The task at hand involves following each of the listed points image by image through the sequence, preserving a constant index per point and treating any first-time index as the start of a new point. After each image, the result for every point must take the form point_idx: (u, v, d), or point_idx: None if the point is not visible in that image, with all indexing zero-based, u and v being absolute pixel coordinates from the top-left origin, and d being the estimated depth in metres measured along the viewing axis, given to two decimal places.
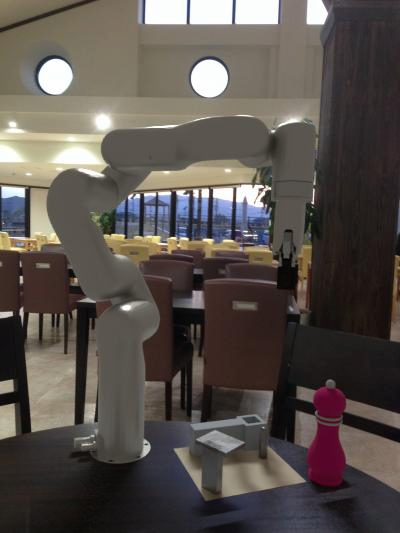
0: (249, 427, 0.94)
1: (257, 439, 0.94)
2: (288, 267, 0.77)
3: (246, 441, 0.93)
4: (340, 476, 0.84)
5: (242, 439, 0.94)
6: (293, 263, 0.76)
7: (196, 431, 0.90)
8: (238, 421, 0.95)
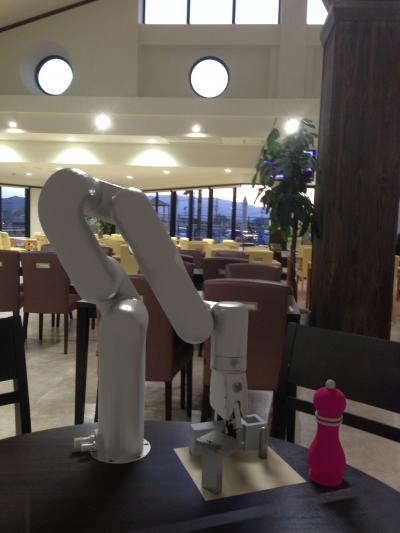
0: (249, 428, 0.94)
1: (257, 439, 0.94)
2: None
3: (246, 441, 0.93)
4: (340, 476, 0.84)
5: (242, 439, 0.94)
6: (215, 420, 0.97)
7: (196, 431, 0.90)
8: None
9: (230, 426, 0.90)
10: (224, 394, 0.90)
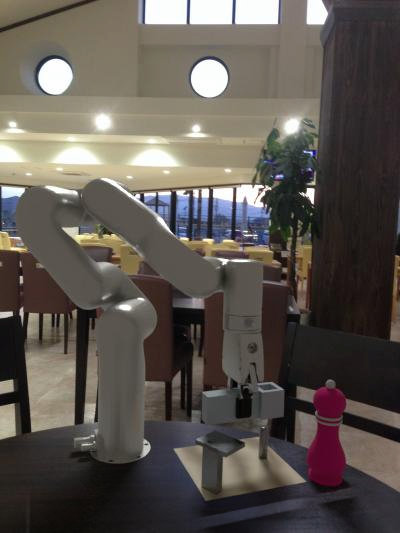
0: (265, 394, 0.88)
1: (274, 407, 0.88)
2: None
3: (262, 409, 0.87)
4: (340, 476, 0.84)
5: (258, 407, 0.88)
6: (228, 387, 0.91)
7: (209, 398, 0.84)
8: None
9: (245, 390, 0.84)
10: (238, 356, 0.83)
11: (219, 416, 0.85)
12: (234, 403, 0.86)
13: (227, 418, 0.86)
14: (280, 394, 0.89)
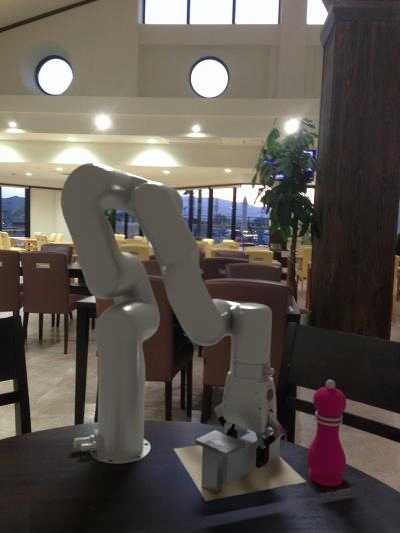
0: None
1: (274, 450, 0.90)
2: None
3: None
4: (340, 476, 0.84)
5: None
6: (223, 429, 0.89)
7: (229, 457, 0.80)
8: (254, 435, 0.89)
9: (271, 439, 0.82)
10: (257, 405, 0.82)
11: (235, 473, 0.82)
12: (246, 455, 0.84)
13: (241, 472, 0.84)
14: None
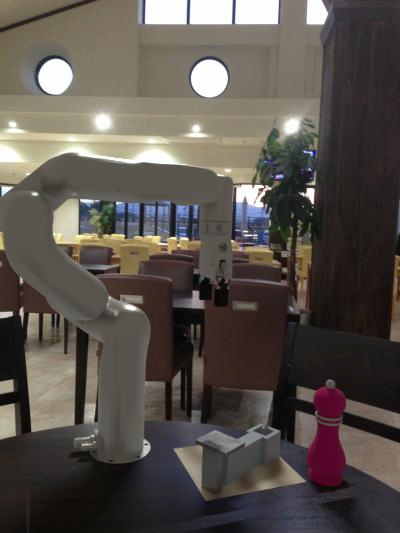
0: (268, 440, 0.88)
1: (274, 450, 0.90)
2: None
3: (266, 454, 0.88)
4: (340, 476, 0.84)
5: (261, 453, 0.88)
6: (199, 280, 1.09)
7: (229, 457, 0.80)
8: (254, 435, 0.89)
9: (222, 279, 0.97)
10: (211, 254, 0.99)
11: (235, 473, 0.82)
12: (246, 455, 0.84)
13: (241, 472, 0.84)
14: (277, 436, 0.91)
